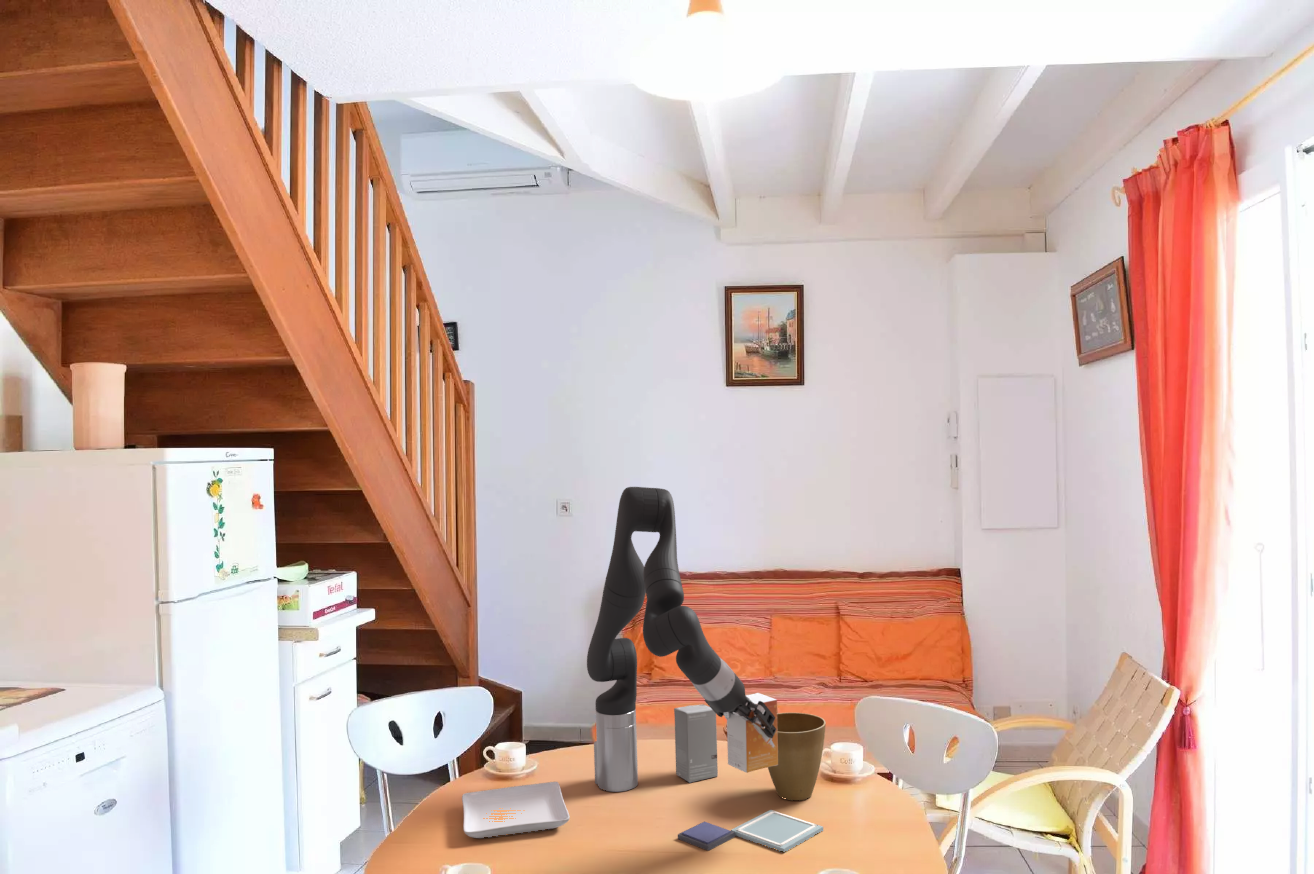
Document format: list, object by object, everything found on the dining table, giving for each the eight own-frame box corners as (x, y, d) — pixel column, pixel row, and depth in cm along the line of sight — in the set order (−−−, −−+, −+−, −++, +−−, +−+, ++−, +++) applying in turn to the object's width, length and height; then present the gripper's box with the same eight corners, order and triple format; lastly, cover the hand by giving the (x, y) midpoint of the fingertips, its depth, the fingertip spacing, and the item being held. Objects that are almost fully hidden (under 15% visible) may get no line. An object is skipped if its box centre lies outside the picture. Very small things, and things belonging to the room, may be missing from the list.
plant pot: (820, 780, 206) (817, 710, 206) (834, 806, 191) (832, 730, 191) (755, 783, 205) (752, 712, 205) (764, 809, 190) (762, 733, 191)
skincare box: (688, 783, 206) (686, 714, 206) (673, 774, 212) (671, 706, 213) (720, 776, 210) (718, 708, 210) (704, 767, 216) (702, 701, 216)
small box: (746, 774, 173) (745, 705, 173) (727, 764, 178) (725, 698, 179) (779, 765, 177) (777, 698, 178) (759, 756, 183) (757, 691, 183)
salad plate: (464, 848, 177) (463, 830, 177) (462, 807, 197) (461, 791, 197) (571, 834, 182) (571, 817, 182) (558, 795, 202) (558, 780, 202)
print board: (730, 833, 179) (730, 828, 179) (770, 813, 188) (770, 808, 188) (784, 853, 170) (784, 847, 170) (823, 830, 179) (823, 825, 179)
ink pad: (677, 838, 177) (677, 832, 177) (704, 825, 183) (704, 819, 183) (708, 850, 172) (708, 844, 172) (735, 836, 177) (734, 830, 177)
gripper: (754, 671, 168) (794, 720, 176) (698, 660, 178) (738, 707, 186) (736, 706, 164) (778, 754, 172) (680, 693, 174) (722, 739, 182)
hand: (757, 729), depth 179 cm, fingers closed on small box, 7 cm apart
